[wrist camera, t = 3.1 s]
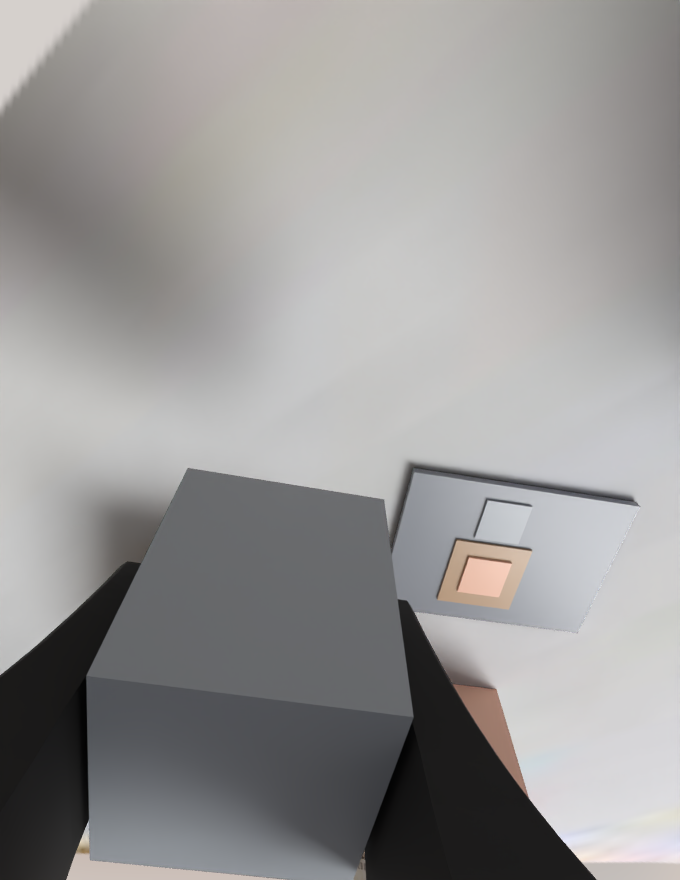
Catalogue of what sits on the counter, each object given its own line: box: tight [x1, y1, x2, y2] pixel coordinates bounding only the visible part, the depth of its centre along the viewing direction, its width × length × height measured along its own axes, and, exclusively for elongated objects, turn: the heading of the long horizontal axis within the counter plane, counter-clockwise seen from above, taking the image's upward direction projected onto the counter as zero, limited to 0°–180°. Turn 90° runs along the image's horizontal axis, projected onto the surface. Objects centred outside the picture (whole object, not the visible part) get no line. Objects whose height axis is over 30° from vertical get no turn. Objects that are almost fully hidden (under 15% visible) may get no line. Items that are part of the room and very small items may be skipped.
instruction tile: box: [391, 468, 640, 633], centre depth 20 cm, size 8×6×1 cm
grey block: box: [86, 468, 414, 880], centre depth 10 cm, size 4×4×5 cm
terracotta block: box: [453, 684, 529, 798], centre depth 22 cm, size 4×4×5 cm
